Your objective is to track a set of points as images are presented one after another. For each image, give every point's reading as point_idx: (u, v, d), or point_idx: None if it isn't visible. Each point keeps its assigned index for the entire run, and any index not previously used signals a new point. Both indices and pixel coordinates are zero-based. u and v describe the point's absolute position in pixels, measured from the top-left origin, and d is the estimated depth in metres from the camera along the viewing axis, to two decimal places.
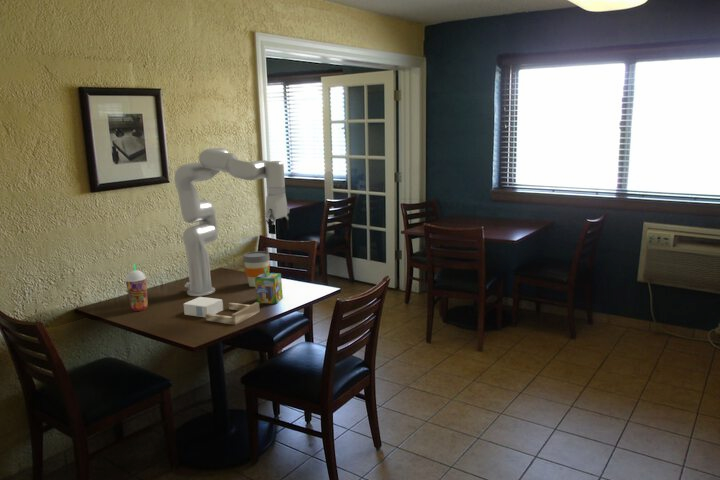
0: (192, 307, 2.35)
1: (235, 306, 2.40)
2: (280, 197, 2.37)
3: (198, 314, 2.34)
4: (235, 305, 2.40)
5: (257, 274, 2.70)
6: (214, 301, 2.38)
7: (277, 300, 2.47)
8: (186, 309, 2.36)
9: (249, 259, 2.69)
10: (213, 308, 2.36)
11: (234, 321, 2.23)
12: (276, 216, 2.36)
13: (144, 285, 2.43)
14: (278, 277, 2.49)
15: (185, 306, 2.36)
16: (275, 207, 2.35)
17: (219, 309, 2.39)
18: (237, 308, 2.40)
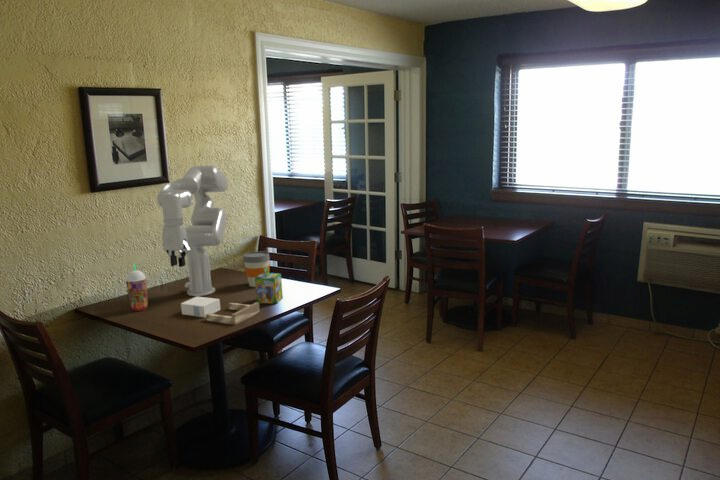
0: (189, 307, 2.35)
1: (235, 306, 2.40)
2: None
3: (195, 314, 2.35)
4: (235, 305, 2.40)
5: (257, 274, 2.70)
6: (211, 301, 2.38)
7: (277, 300, 2.47)
8: (183, 308, 2.37)
9: (249, 259, 2.69)
10: (211, 308, 2.36)
11: (234, 321, 2.23)
12: None
13: (144, 285, 2.43)
14: (278, 277, 2.49)
15: (182, 306, 2.37)
16: None
17: (216, 309, 2.39)
18: (237, 308, 2.40)
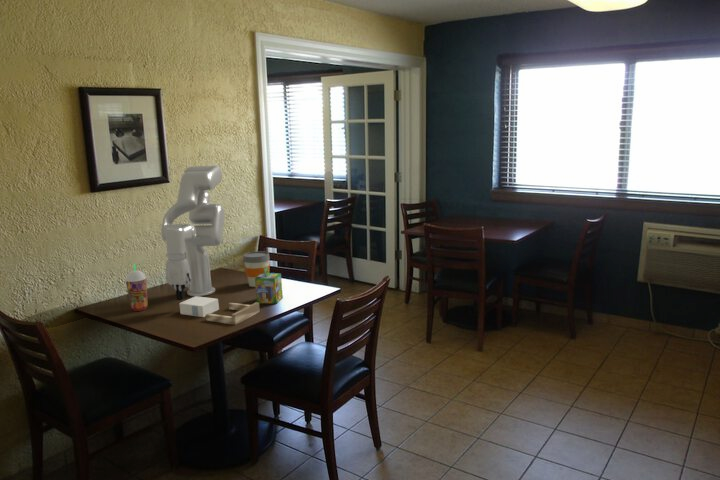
0: (188, 306, 2.36)
1: (235, 306, 2.40)
2: None
3: (194, 313, 2.35)
4: (235, 305, 2.40)
5: (257, 274, 2.70)
6: (210, 300, 2.39)
7: (277, 300, 2.47)
8: (181, 308, 2.37)
9: (249, 259, 2.69)
10: (209, 308, 2.36)
11: (234, 321, 2.23)
12: None
13: (144, 285, 2.43)
14: (278, 277, 2.49)
15: (181, 305, 2.37)
16: None
17: (215, 308, 2.40)
18: (237, 308, 2.40)
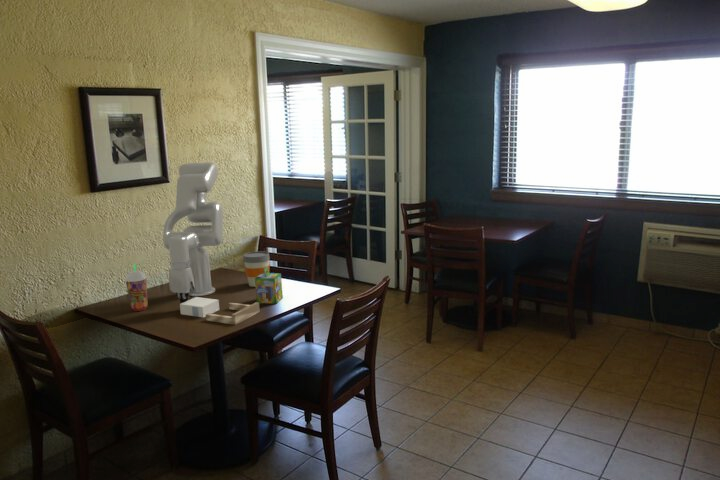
0: (188, 307, 2.35)
1: (235, 306, 2.40)
2: None
3: (194, 314, 2.35)
4: (235, 305, 2.40)
5: (257, 274, 2.70)
6: (210, 301, 2.38)
7: (277, 300, 2.47)
8: (182, 309, 2.37)
9: (249, 259, 2.69)
10: (209, 309, 2.36)
11: (234, 321, 2.23)
12: None
13: (144, 285, 2.43)
14: (278, 277, 2.49)
15: (181, 306, 2.37)
16: None
17: (215, 309, 2.39)
18: (237, 308, 2.40)
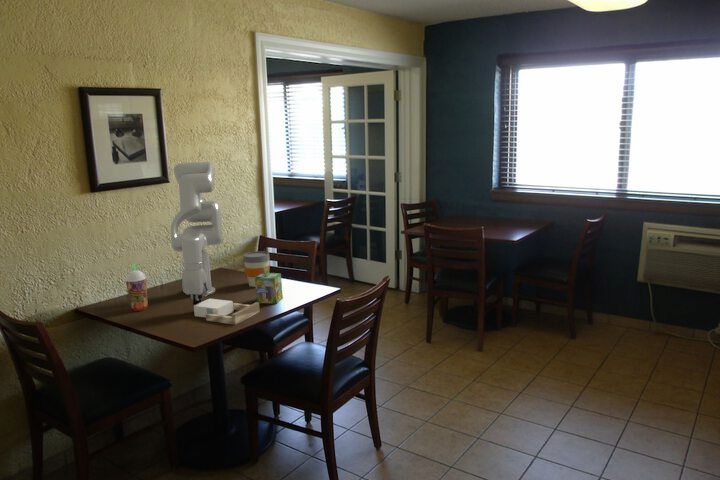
0: (202, 309, 2.33)
1: (235, 306, 2.40)
2: None
3: None
4: (235, 305, 2.40)
5: (257, 274, 2.70)
6: (224, 303, 2.36)
7: (277, 300, 2.47)
8: (196, 311, 2.34)
9: (249, 259, 2.69)
10: (224, 310, 2.33)
11: (234, 321, 2.23)
12: None
13: (144, 285, 2.43)
14: (278, 277, 2.49)
15: (195, 308, 2.34)
16: None
17: (229, 311, 2.37)
18: (237, 308, 2.40)
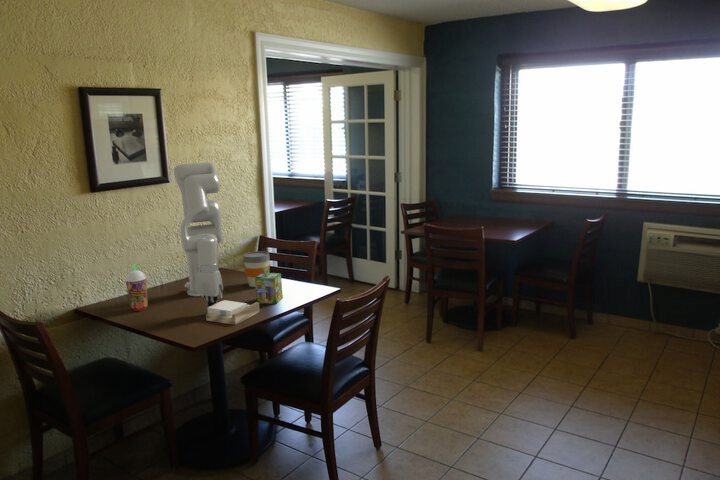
0: (216, 311, 2.29)
1: None
2: None
3: None
4: None
5: (257, 274, 2.70)
6: (238, 305, 2.31)
7: (277, 300, 2.47)
8: (209, 313, 2.30)
9: (249, 259, 2.69)
10: None
11: (234, 321, 2.23)
12: None
13: (144, 285, 2.43)
14: (278, 277, 2.49)
15: (209, 310, 2.30)
16: None
17: None
18: None
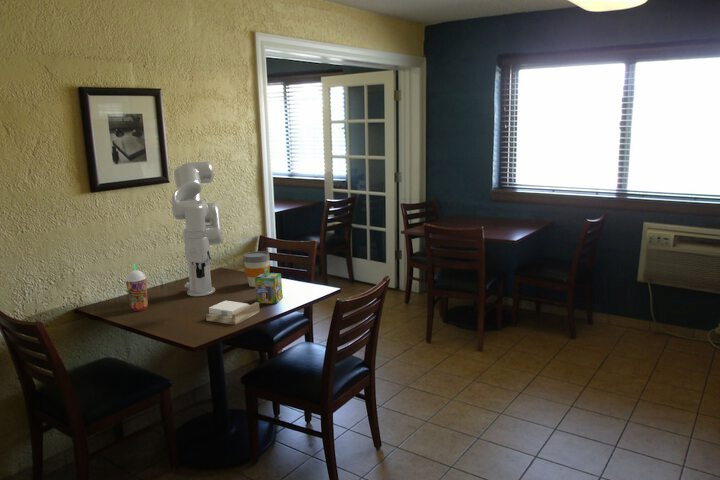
0: (217, 311, 2.28)
1: None
2: None
3: None
4: None
5: (257, 274, 2.70)
6: (240, 305, 2.31)
7: (277, 300, 2.47)
8: (211, 313, 2.30)
9: (249, 259, 2.69)
10: None
11: (234, 321, 2.23)
12: None
13: (144, 285, 2.43)
14: (278, 277, 2.49)
15: (210, 310, 2.30)
16: None
17: None
18: None
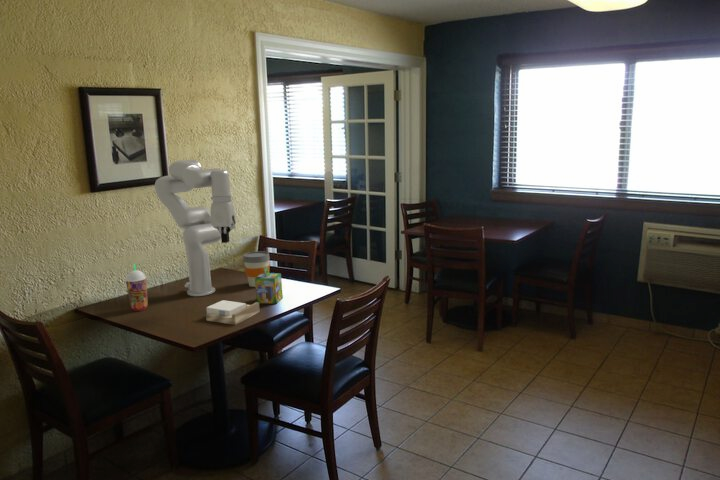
0: (215, 311, 2.29)
1: None
2: None
3: None
4: None
5: (257, 274, 2.70)
6: (237, 305, 2.32)
7: (277, 300, 2.47)
8: None
9: (249, 259, 2.69)
10: None
11: (234, 321, 2.23)
12: None
13: (144, 285, 2.43)
14: (278, 277, 2.49)
15: (208, 310, 2.30)
16: None
17: None
18: None
